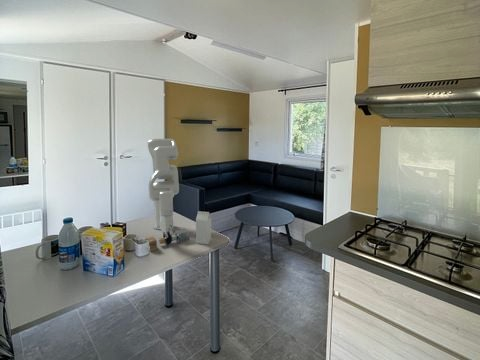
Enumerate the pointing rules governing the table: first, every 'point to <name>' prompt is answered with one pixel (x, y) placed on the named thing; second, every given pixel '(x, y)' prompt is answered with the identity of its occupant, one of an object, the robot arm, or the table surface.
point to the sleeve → (182, 235)
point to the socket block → (152, 243)
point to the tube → (163, 240)
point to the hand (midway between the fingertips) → (167, 241)
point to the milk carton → (203, 227)
